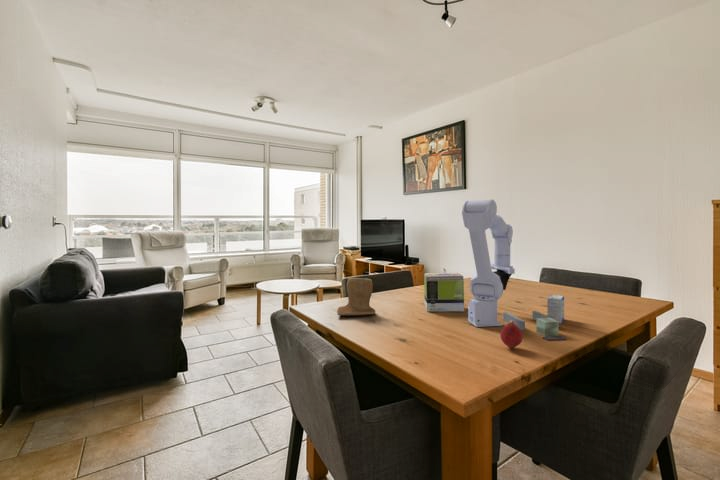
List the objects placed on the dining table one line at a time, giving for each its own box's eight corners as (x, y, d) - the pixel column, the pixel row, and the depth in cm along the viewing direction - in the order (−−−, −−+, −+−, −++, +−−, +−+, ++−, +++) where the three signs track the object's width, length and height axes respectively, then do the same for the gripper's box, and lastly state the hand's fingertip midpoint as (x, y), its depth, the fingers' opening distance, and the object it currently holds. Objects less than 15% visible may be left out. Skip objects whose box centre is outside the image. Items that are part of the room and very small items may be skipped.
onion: (521, 353, 93) (521, 324, 93) (498, 349, 96) (498, 321, 96) (523, 347, 98) (523, 319, 98) (502, 343, 101) (502, 316, 101)
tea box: (459, 306, 147) (459, 272, 146) (464, 312, 137) (464, 275, 136) (424, 306, 148) (423, 272, 148) (426, 312, 138) (426, 275, 138)
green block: (544, 336, 107) (545, 322, 107) (536, 332, 112) (536, 318, 111) (558, 336, 107) (558, 321, 107) (549, 331, 112) (549, 317, 112)
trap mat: (547, 340, 103) (547, 339, 103) (542, 338, 105) (542, 336, 105) (566, 339, 103) (566, 338, 103) (561, 337, 106) (561, 335, 106)
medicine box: (561, 324, 119) (561, 299, 119) (546, 322, 122) (547, 298, 121) (564, 319, 125) (564, 295, 125) (550, 317, 128) (550, 294, 128)
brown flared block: (373, 310, 143) (373, 274, 142) (376, 317, 131) (376, 278, 130) (337, 311, 142) (336, 275, 141) (337, 319, 130) (336, 280, 129)
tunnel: (521, 330, 113) (521, 321, 113) (503, 320, 125) (503, 312, 125) (557, 328, 114) (557, 319, 114) (535, 318, 126) (535, 310, 126)
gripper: (522, 256, 126) (522, 293, 127) (502, 253, 141) (502, 286, 141) (504, 257, 126) (504, 293, 126) (486, 253, 140) (486, 286, 141)
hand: (502, 289), depth 134 cm, fingers closed
